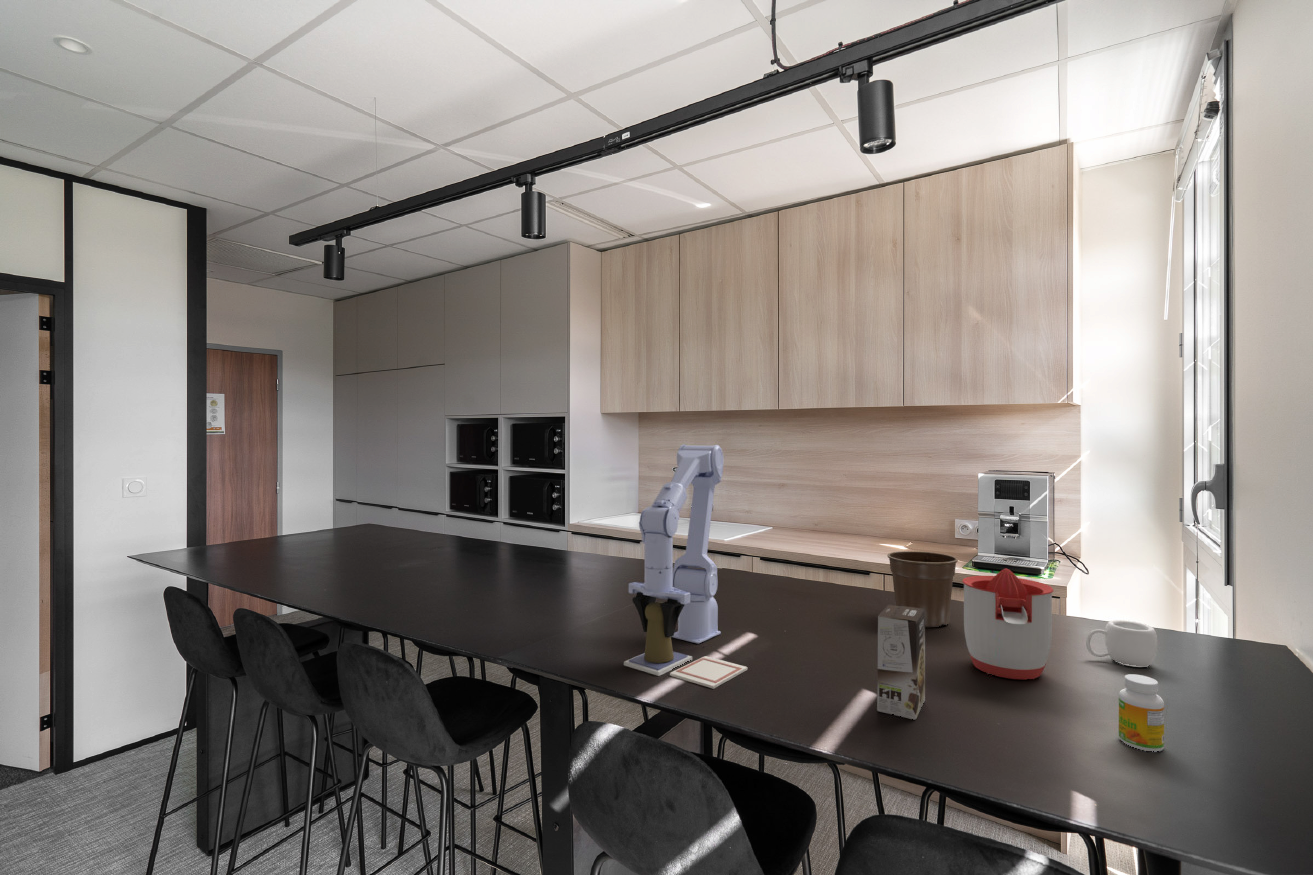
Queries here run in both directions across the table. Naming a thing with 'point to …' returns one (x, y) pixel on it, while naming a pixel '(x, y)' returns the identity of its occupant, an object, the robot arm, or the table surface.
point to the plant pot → (924, 583)
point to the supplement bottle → (1141, 714)
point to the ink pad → (657, 664)
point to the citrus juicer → (1008, 624)
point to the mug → (1127, 642)
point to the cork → (657, 636)
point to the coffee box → (901, 661)
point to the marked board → (708, 671)
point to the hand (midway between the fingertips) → (658, 633)
